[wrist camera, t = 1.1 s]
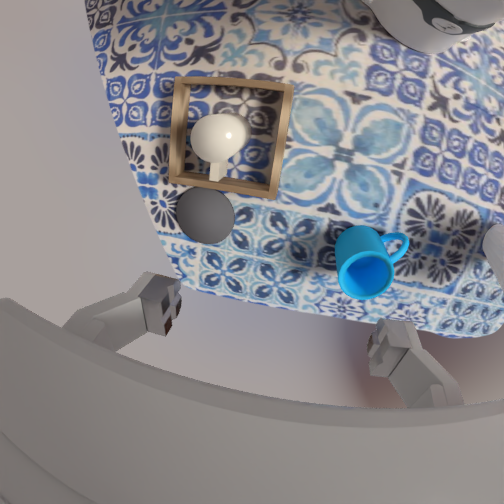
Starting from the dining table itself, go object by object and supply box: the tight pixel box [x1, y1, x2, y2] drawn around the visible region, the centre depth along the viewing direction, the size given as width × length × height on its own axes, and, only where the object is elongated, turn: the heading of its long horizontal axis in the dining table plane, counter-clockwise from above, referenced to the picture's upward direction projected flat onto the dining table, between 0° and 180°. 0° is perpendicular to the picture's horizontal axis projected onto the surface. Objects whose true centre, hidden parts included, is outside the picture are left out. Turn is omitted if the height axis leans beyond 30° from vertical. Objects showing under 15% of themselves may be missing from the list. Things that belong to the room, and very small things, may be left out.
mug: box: [335, 225, 409, 300], centre depth 38 cm, size 12×8×8 cm
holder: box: [169, 77, 294, 200], centre depth 36 cm, size 16×16×4 cm
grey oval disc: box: [176, 187, 235, 244], centre depth 45 cm, size 10×10×1 cm
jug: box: [190, 113, 252, 182], centre depth 35 cm, size 9×6×8 cm
